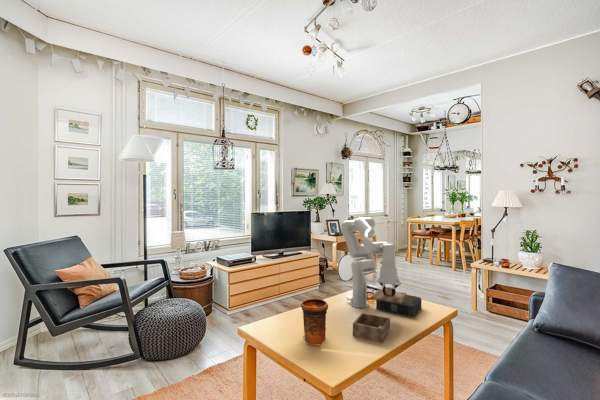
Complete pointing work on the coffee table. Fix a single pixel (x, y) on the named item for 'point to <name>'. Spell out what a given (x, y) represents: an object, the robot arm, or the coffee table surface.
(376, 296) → the lid
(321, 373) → the coffee table surface
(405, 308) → the cash box
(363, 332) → the storage box
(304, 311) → the vessel
